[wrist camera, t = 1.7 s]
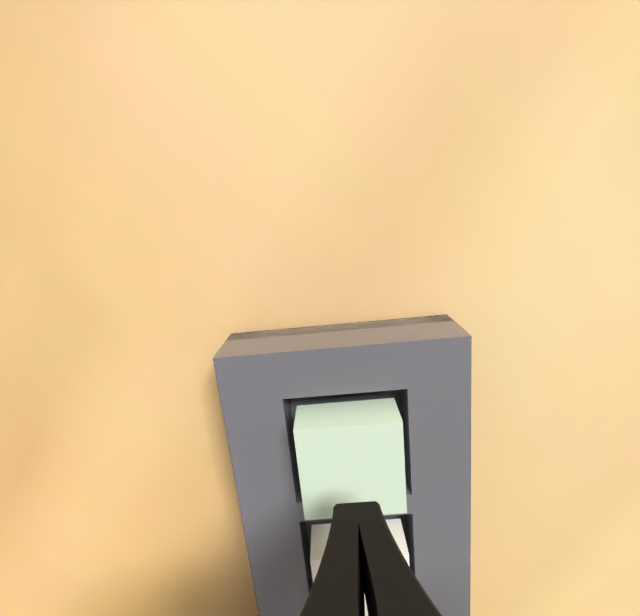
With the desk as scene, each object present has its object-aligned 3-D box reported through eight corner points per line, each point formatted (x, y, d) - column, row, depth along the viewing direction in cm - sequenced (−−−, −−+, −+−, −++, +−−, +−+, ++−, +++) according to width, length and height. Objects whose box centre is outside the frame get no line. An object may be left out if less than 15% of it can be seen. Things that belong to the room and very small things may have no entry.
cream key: (404, 587, 18) (412, 628, 16) (320, 592, 18) (319, 634, 16) (400, 518, 17) (409, 554, 15) (311, 524, 17) (309, 560, 15)
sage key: (398, 480, 16) (407, 513, 15) (306, 487, 16) (304, 520, 15) (393, 397, 15) (402, 421, 14) (296, 405, 15) (293, 430, 14)
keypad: (450, 650, 22) (469, 716, 20) (285, 660, 23) (279, 725, 20) (446, 314, 17) (471, 336, 14) (231, 333, 18) (212, 358, 15)
